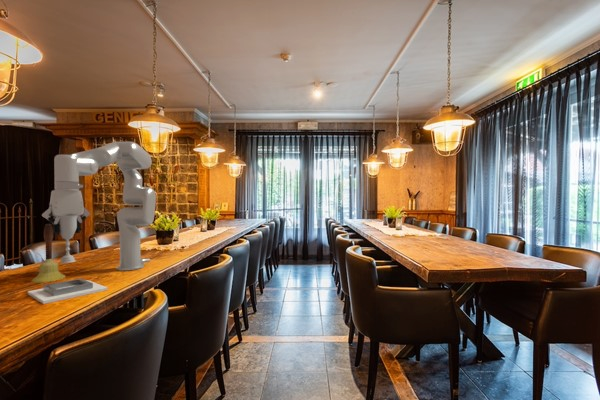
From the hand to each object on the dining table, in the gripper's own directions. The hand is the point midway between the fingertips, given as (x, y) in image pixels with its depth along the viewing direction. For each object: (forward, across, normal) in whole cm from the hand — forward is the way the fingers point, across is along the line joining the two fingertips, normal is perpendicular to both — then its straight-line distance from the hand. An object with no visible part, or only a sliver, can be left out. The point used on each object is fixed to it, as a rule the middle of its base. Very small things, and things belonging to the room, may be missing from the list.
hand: (67, 233), depth 120 cm
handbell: (+23, -2, -32) cm, 40 cm away
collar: (+23, 0, 0) cm, 23 cm away
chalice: (+11, 0, 0) cm, 11 cm away
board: (+23, 0, 0) cm, 23 cm away
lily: (+23, -5, -50) cm, 55 cm away
